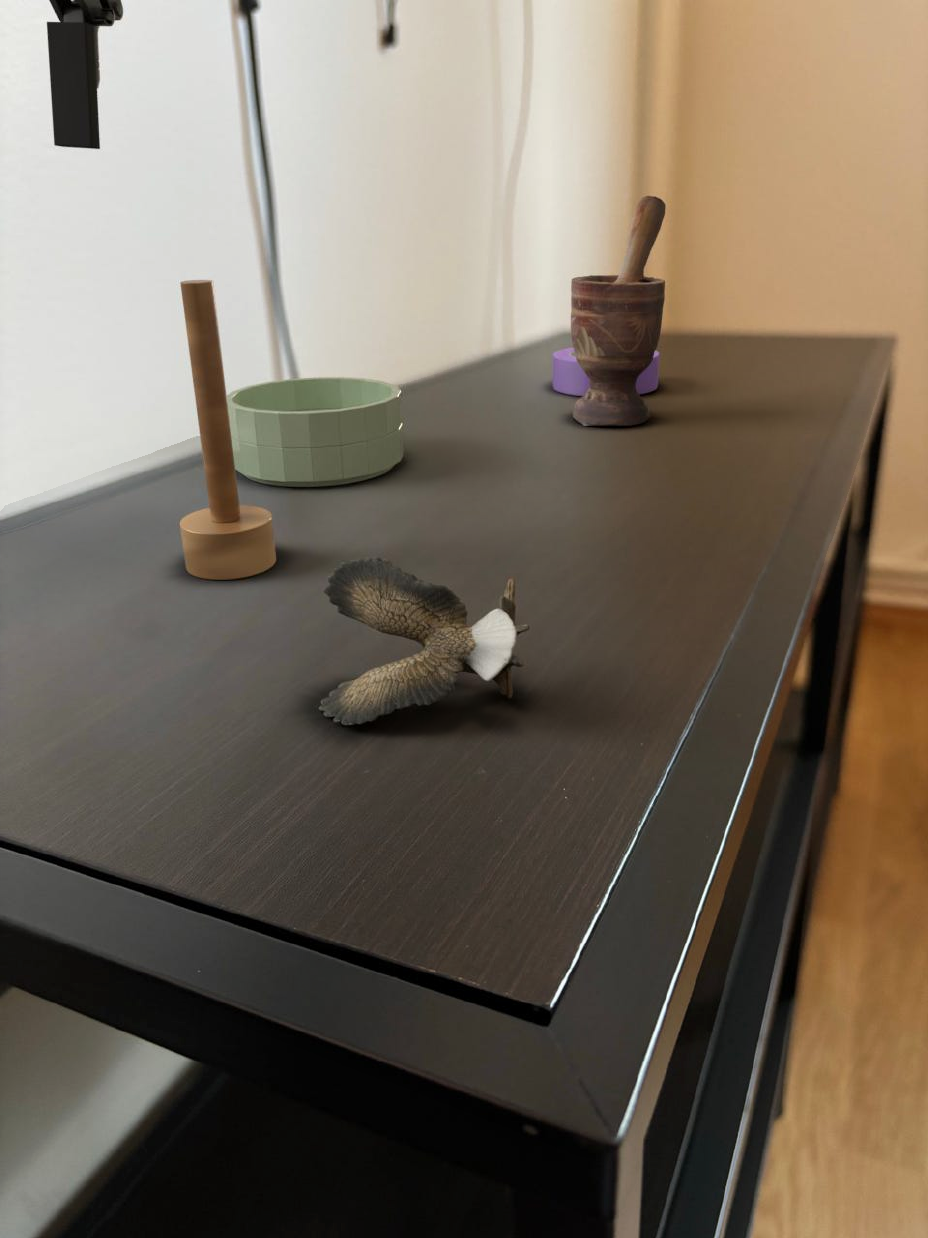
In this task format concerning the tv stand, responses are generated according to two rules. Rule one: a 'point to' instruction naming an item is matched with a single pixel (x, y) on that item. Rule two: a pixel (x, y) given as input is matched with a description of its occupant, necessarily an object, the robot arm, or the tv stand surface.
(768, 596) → the tv stand surface
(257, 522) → the wooden peg stand
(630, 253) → the mortar and pestle
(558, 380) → the tape roll
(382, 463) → the bowl
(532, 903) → the tv stand surface
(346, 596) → the eagle figurine
